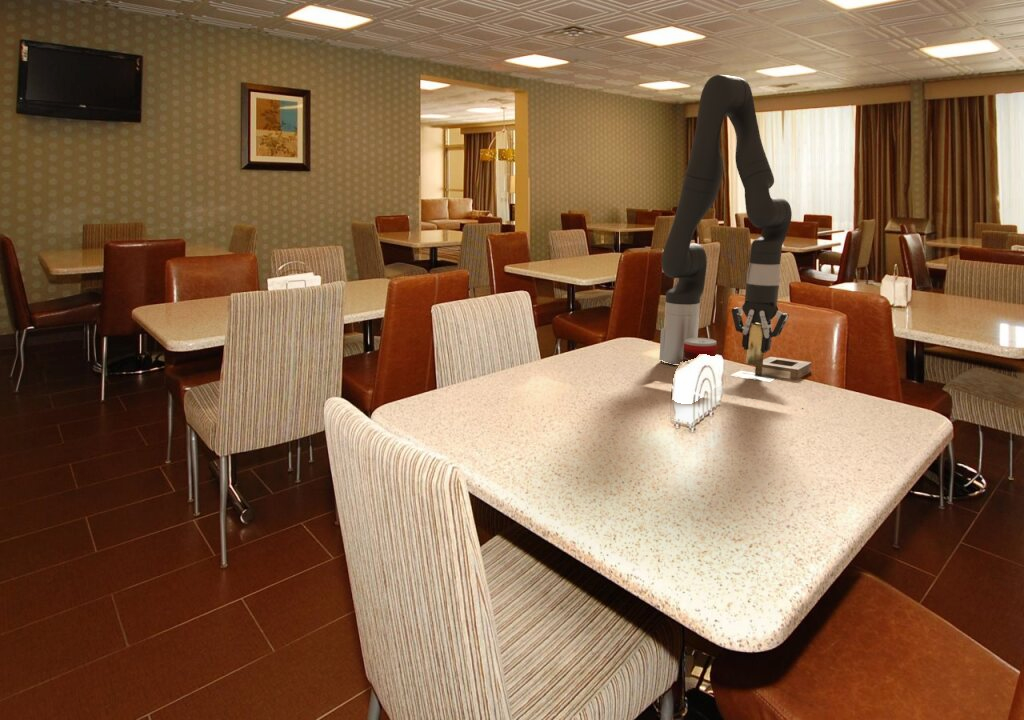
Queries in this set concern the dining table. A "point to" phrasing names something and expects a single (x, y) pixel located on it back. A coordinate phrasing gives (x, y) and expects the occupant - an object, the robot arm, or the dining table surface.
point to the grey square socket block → (784, 368)
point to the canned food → (698, 347)
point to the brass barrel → (755, 345)
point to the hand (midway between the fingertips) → (755, 350)
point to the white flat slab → (754, 376)
